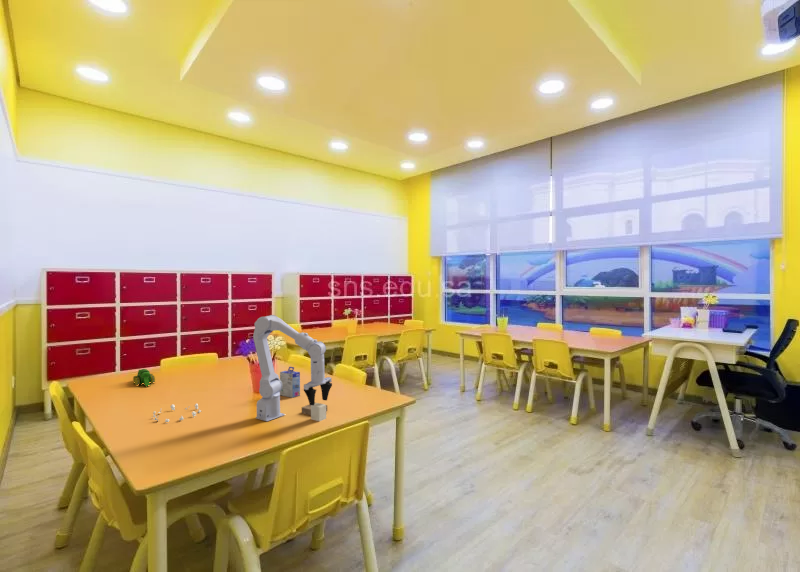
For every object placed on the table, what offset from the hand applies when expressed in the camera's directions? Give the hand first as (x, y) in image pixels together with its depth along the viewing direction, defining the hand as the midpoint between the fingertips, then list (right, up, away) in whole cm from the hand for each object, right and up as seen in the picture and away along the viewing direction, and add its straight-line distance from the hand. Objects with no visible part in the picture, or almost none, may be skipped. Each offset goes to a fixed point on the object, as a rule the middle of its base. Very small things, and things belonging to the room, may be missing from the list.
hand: (318, 402), depth 168 cm
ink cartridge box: (-22, -7, +36) cm, 43 cm away
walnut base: (-4, -7, +9) cm, 12 cm away
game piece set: (-65, -9, +7) cm, 66 cm away
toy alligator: (-120, -9, +68) cm, 138 cm away
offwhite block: (0, -7, 0) cm, 7 cm away
